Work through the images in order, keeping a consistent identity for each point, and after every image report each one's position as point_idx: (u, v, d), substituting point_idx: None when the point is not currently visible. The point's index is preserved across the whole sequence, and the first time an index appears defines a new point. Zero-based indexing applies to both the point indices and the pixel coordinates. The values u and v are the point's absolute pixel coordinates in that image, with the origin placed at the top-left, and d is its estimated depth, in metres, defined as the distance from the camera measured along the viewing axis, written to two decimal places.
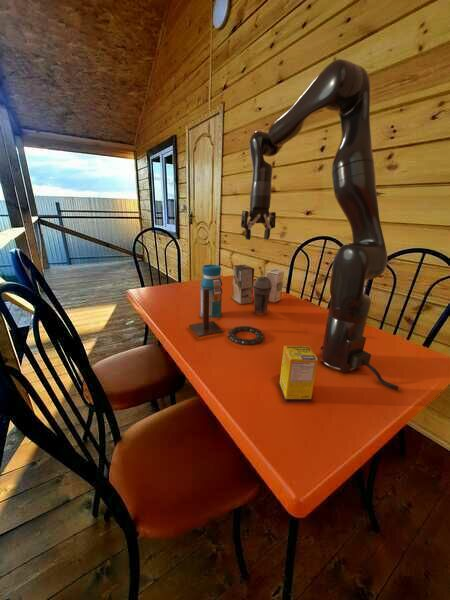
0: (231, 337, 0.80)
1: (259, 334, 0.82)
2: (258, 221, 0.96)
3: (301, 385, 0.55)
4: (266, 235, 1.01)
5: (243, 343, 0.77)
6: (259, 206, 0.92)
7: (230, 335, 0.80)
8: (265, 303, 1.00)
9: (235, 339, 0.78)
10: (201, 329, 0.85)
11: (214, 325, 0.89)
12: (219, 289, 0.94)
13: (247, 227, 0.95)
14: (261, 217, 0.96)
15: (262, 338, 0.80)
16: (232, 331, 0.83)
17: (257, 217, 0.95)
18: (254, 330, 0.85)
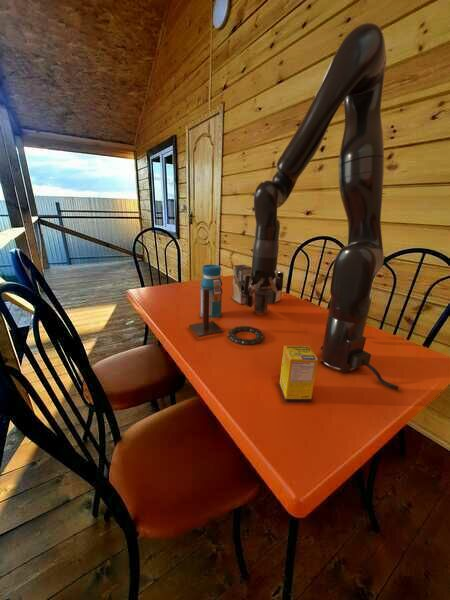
0: (231, 337, 0.80)
1: (259, 334, 0.82)
2: (262, 285, 0.78)
3: (301, 385, 0.55)
4: (271, 299, 0.83)
5: (243, 343, 0.77)
6: (263, 270, 0.74)
7: (230, 335, 0.80)
8: (265, 303, 1.00)
9: (235, 339, 0.78)
10: (201, 329, 0.85)
11: (214, 325, 0.89)
12: (219, 289, 0.94)
13: (248, 293, 0.77)
14: (265, 280, 0.78)
15: (262, 338, 0.80)
16: (232, 331, 0.83)
17: (260, 282, 0.77)
18: (254, 330, 0.85)
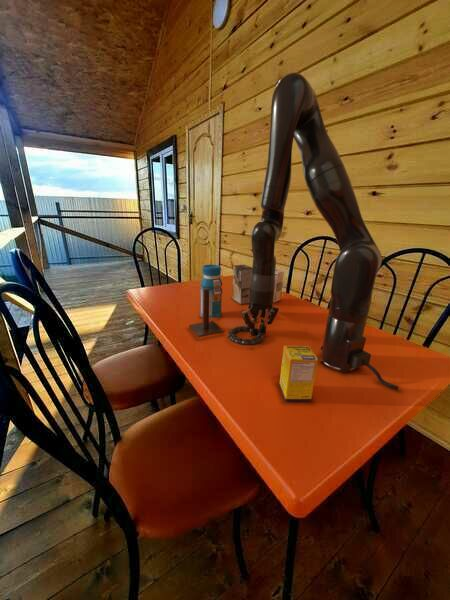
0: (231, 337, 0.80)
1: (259, 334, 0.82)
2: None
3: (301, 385, 0.55)
4: None
5: (243, 343, 0.77)
6: (260, 303, 0.77)
7: (230, 335, 0.80)
8: None
9: (235, 338, 0.78)
10: (201, 329, 0.85)
11: (214, 325, 0.89)
12: (219, 289, 0.94)
13: (253, 327, 0.82)
14: (263, 311, 0.81)
15: (262, 338, 0.80)
16: (232, 331, 0.83)
17: (258, 313, 0.79)
18: None
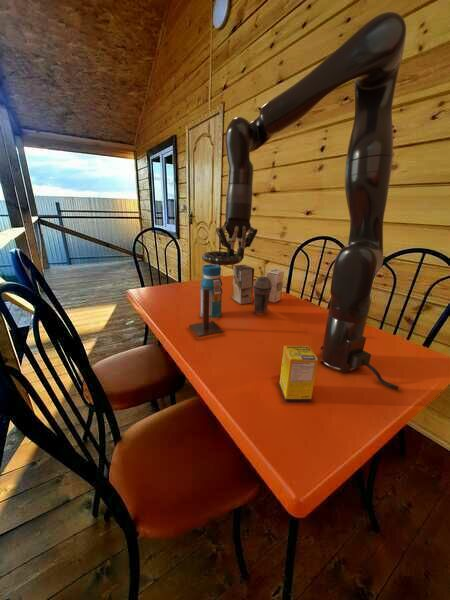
0: (205, 256, 0.74)
1: (236, 255, 0.76)
2: None
3: (301, 385, 0.55)
4: None
5: (217, 259, 0.72)
6: (236, 217, 0.72)
7: (204, 254, 0.75)
8: (265, 303, 1.00)
9: (209, 256, 0.73)
10: (201, 329, 0.85)
11: (214, 325, 0.89)
12: (219, 289, 0.94)
13: (229, 247, 0.77)
14: (240, 230, 0.76)
15: (238, 257, 0.75)
16: (207, 252, 0.78)
17: (234, 230, 0.74)
18: None
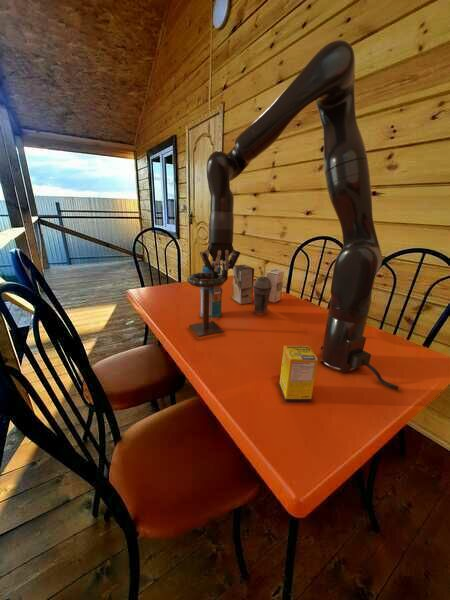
0: (190, 279, 0.78)
1: (219, 277, 0.80)
2: None
3: (301, 385, 0.55)
4: None
5: (201, 283, 0.75)
6: (218, 242, 0.76)
7: (189, 277, 0.79)
8: (265, 303, 1.00)
9: (194, 279, 0.77)
10: (201, 329, 0.85)
11: (214, 325, 0.89)
12: (219, 289, 0.94)
13: (213, 270, 0.80)
14: (223, 253, 0.79)
15: (221, 279, 0.78)
16: (192, 275, 0.81)
17: (217, 254, 0.78)
18: None
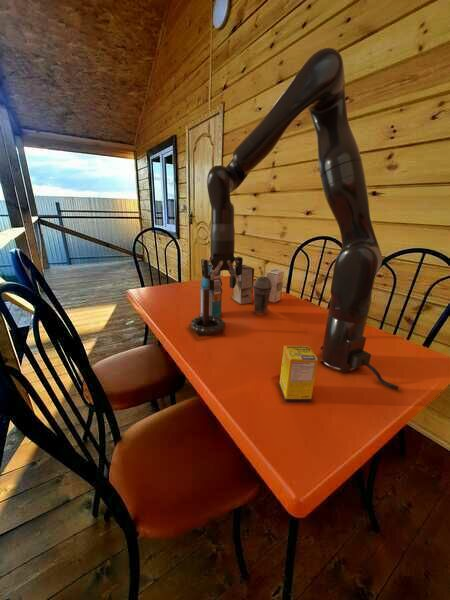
0: (192, 325, 0.83)
1: (220, 322, 0.85)
2: (221, 268, 0.81)
3: (301, 385, 0.55)
4: (231, 283, 0.85)
5: (202, 330, 0.81)
6: (220, 253, 0.77)
7: (192, 323, 0.84)
8: (265, 303, 1.00)
9: (196, 326, 0.82)
10: None
11: (214, 325, 0.89)
12: (219, 289, 0.94)
13: (209, 278, 0.80)
14: (224, 264, 0.81)
15: (222, 326, 0.84)
16: (194, 320, 0.86)
17: (219, 265, 0.79)
18: (216, 319, 0.88)
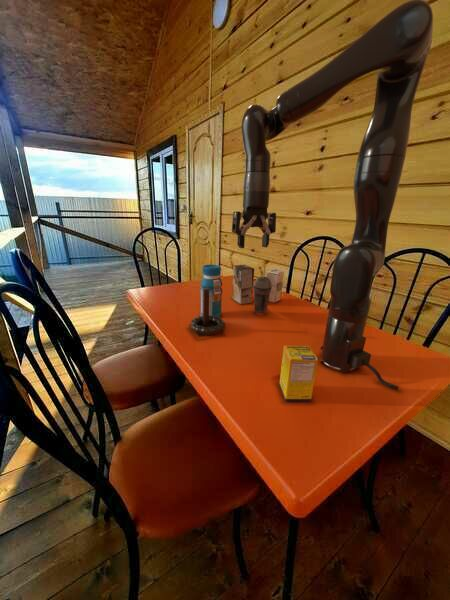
0: (192, 325, 0.83)
1: (220, 322, 0.85)
2: (254, 224, 0.75)
3: (301, 385, 0.55)
4: (264, 242, 0.79)
5: (202, 330, 0.81)
6: (255, 205, 0.71)
7: (192, 323, 0.84)
8: (265, 303, 1.00)
9: (196, 326, 0.82)
10: None
11: (214, 325, 0.89)
12: (219, 289, 0.94)
13: (240, 232, 0.74)
14: (257, 219, 0.75)
15: (222, 326, 0.84)
16: (194, 320, 0.86)
17: (252, 219, 0.73)
18: (216, 319, 0.88)
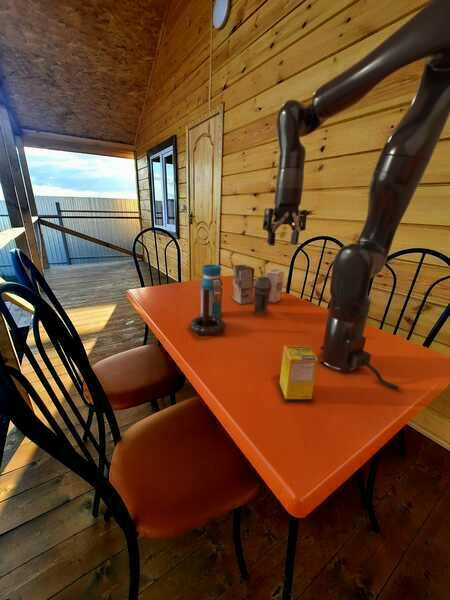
0: (192, 325, 0.83)
1: (220, 322, 0.85)
2: (285, 222, 0.74)
3: (301, 385, 0.55)
4: (294, 240, 0.78)
5: (202, 330, 0.81)
6: (288, 202, 0.70)
7: (192, 323, 0.84)
8: (265, 303, 1.00)
9: (196, 326, 0.82)
10: None
11: (214, 325, 0.89)
12: (219, 289, 0.94)
13: (271, 229, 0.73)
14: (289, 216, 0.74)
15: (222, 326, 0.84)
16: (194, 320, 0.86)
17: (284, 216, 0.73)
18: (216, 319, 0.88)
